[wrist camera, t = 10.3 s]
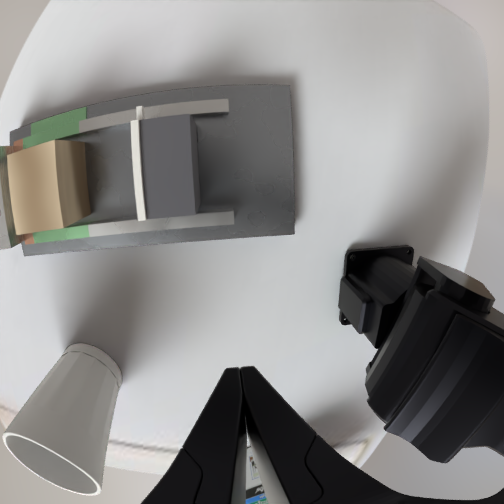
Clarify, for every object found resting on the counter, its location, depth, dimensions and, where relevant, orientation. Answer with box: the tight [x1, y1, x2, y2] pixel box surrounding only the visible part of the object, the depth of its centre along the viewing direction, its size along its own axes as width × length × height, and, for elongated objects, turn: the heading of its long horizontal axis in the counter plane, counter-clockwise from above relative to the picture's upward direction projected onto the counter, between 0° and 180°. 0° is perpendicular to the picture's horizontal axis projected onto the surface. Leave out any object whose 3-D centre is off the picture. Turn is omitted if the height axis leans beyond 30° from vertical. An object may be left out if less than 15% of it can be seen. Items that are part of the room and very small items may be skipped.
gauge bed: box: [10, 85, 295, 256], centre depth 17 cm, size 21×10×2 cm, turn 92°
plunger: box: [130, 106, 201, 221], centre depth 15 cm, size 3×6×4 cm, turn 2°
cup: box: [3, 343, 122, 495], centre depth 17 cm, size 8×8×12 cm
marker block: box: [7, 140, 91, 235], centre depth 14 cm, size 4×5×4 cm
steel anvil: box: [0, 146, 25, 250], centre depth 14 cm, size 2×7×3 cm, turn 2°
